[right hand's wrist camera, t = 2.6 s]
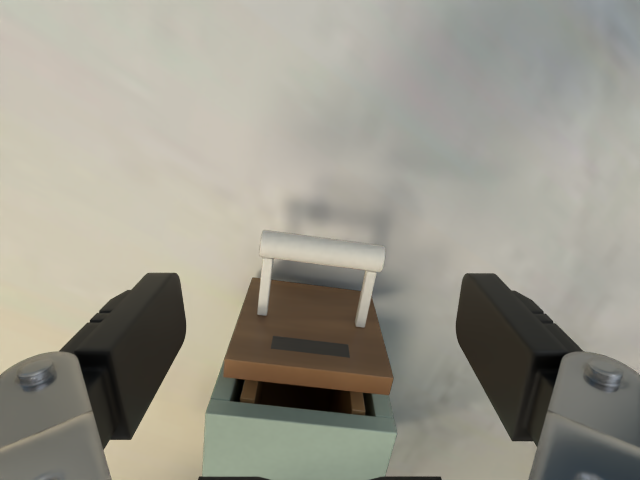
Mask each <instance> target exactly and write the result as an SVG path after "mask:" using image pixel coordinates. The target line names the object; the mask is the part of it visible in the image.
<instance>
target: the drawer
mask: <svg viewBox="0 0 640 480" xmlns="http://www.w3.org/2000/svg"><path fill="white" fill-rule="evenodd" d="M259 255H260V257H263V261H262V271H261V278H252V280H251V283H250V286H249V289H248V292H247V295H246V298H245V300H244V303H243V306H242V309H241V312H240V315H239V318H238V321H237V324H236V327H235V330H234V332H233V335H232V338H231V341H230V344H229V347H228V350H227V353H226V356H225V359H224V372H223V377H226V378H235V379H244V380H245V381H244V385H243V389H242V393H241V397H240V402H243V403H252V404H261V405H271V406H280V407H290V408H299V409H308V410H318V411H327V412H336V413H346V414H355V415H365V405H364V399H363V393H372V394H381V395H389V394H390V390H391V386H392V382H393V379H394V377H393V374H392V370H391V366H390V363H389V359H388V355H387V351H386V348H385V344H384V340H383V337H382V333H381V329H380V325H379V322H378V318H377V314H376V310H375V307H374V303H373V299H372V292H373V287H374V282H375V278H376V272H381V271H382V269H383V266H384V262H385V248H384V246H381V245H374V244H366V243H359V242H351V241H344V240H336V239H329V238H321V237H314V236H306V235H299V234H291V233H284V232H276V231H269V230H263V231H262V235H261V240H260V248H259ZM273 259H282V260H290V261H297V262H305V263H313V264H321V265H328V266H336V267H344V268H351V269H359V270H365V275H364V280H363V284H362V289H361V291H356V290H348V289H340V288H332V287H324V286H316V285H309V284H301V283H293V282H285V281H277V280H271V277H272V268H273Z"/></svg>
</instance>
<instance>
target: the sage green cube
mask: <svg viewBox="0 0 640 480" xmlns="http://www.w3.org/2000/svg"><path fill="white" fill-rule="evenodd" d="M239 315H240V314H239ZM238 318H239V317H238ZM237 321H238V320H237ZM236 324H237V323H236ZM235 327H236V326H235ZM234 330H235V329H234ZM229 344H230V343H229ZM228 347H229V346H228ZM227 350H228V349H227ZM226 353H227V352H226ZM225 356H226V355H225ZM224 359H225V358H224ZM223 372H224V361H223V364H222V367H221V370H220V373H219V375H218V378H217V381H216V384H215V387H214V390H213V393H212V396H211V400H210V402H209V404H208V407H207V410H206V413H205V431H204V450H203V469H202V477H262V478H266V479H270V480H370V479H374V478H378V477H385V475H386V471H387V468H388V464H389V461H390V457H391V454H392V450H393V447H394V443H395V440H396V436H397V430H396V426H395V422H394V417H393V412H392V408H391V404H390V400H389V395H381V394H372V393H363V399H364V405H365V415H355V414H346V413H336V412H327V411H318V410H308V409H299V408H290V407H280V406H271V405H261V404H252V403H243V402H240V397H241V393H242V389H243V385H244V381H245V380H244V379H235V378H226V377H223Z"/></svg>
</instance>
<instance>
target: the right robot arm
mask: <svg viewBox="0 0 640 480" xmlns="http://www.w3.org/2000/svg"><path fill="white" fill-rule="evenodd" d="M185 334H186V318H185V311H184V304H183V297H182V290H181V283H180V279H179V276H178V274H177V273H147V274H146V275H145V276H144V277H143V278H142V279H141V280H140V281H139V282H138V283H137V284H136V286H135V287H134V288H133V289H132V290H127V291H125V292H123V293H121V294H120V295H118V296H116V297H114V298H113V299H111V300H110V301H109V302H108V303H107V304H106V305H105V306H104V307H103V308H102V309H101V310H100V311H99V313H97V314H96V315H95V316H94V317H93V318H92V319H91V320H90V323H87V324H86V325H85V326H84V327H83V328H82V329H81V330H80V331H79V332H78V333H77V334H76V335H75V336H74V337H73V338H72V339H71V340H70V341H69V342H68V343H67V344H66V345H65V346H64V347H63V348H62V349H61V350H60V351H59V352H48V353H43V354H39V355H36V356H33V357H30V358H27V359H25V360H23V361H21V362H19V363H17V364H15V365H13V366H12V367H10V368H8V369H7V370H6V371H4V372H3V373H2V374H1V375H0V480H111V476H110V472H109V469H108V465H107V461H106V458H105V454H104V451H103V450H104V448H105V447H106V445H107V443H108V442H109V440H131V439H132V437H133V435H134V433H135V431H136V429H137V428H138V426H139V424H140V422H141V420H142V418H143V416H144V415H145V413H146V411H147V409H148V407H149V405H150V403H151V402H152V400H153V398H154V396H155V394H156V392H157V391H158V389H159V387H160V385H161V383H162V381H163V379H164V378H165V376H166V374H167V372H168V370H169V368H170V366H171V365H172V363H173V361H174V359H175V357H176V355H177V354H178V352H179V350H180V348H181V346H182V344H183V342H184V339H185ZM456 334H457V339H458V342H459V345H460V347H461V349H462V350H463V352H464V354H465V356H466V358H467V359H468V361H469V363H470V365H471V367H472V369H473V370H474V372H475V374H476V376H477V378H478V380H479V381H480V383H481V385H482V387H483V389H484V391H485V392H486V394H487V396H488V398H489V400H490V402H491V403H492V405H493V407H494V409H495V411H496V412H497V414H498V416H499V418H500V420H501V422H502V423H503V425H504V427H505V429H506V431H507V433H508V434H509V436H510V438H511V440H512V441H534V443H535V444H536V446H537V451H536V454H535V458H534V461H533V465H532V469H531V472H530V476H529V480H640V375H639V374H638V373H637V372H636V371H634V370H633V369H632V368H630V367H628V366H627V365H625V364H623V363H621V362H619V361H617V360H615V359H613V358H610V357H607V356H604V355H601V354H597V353H592V352H584V351H583V350H582V349H581V348H580V347H579V346H578V345H577V344H576V343H575V342H574V341H573V340H572V339H571V338H570V337H569V336H568V335H567V334H566V333H565V332H564V331H563V330H562V329H561V328H559V327H558V326H557V325H556V324H553V321H552V320H551V319H550V318H549V317H548V316H547V315H546V314H544V313H543V311H542V310H541V309H540V308H539V307H538V306H537V305H536V304H535V303H534V302H533V301H532V300H531V299H529V298H527V297H525V296H523V295H522V294H520V293H518V292H516V291H511V290H510V289H509V288H508V287H507V286H506V285H505V284H504V282H503V281H502V280H501V279H500V278H499V277H498V276H497V275H496V274H493V273H467V274H465V275H464V277H463V280H462V285H461V292H460V299H459V305H458V312H457V319H456ZM198 480H270V479H266V478H262V477H199V479H198ZM370 480H442V479H441V477H378V478H374V479H370Z"/></svg>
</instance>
